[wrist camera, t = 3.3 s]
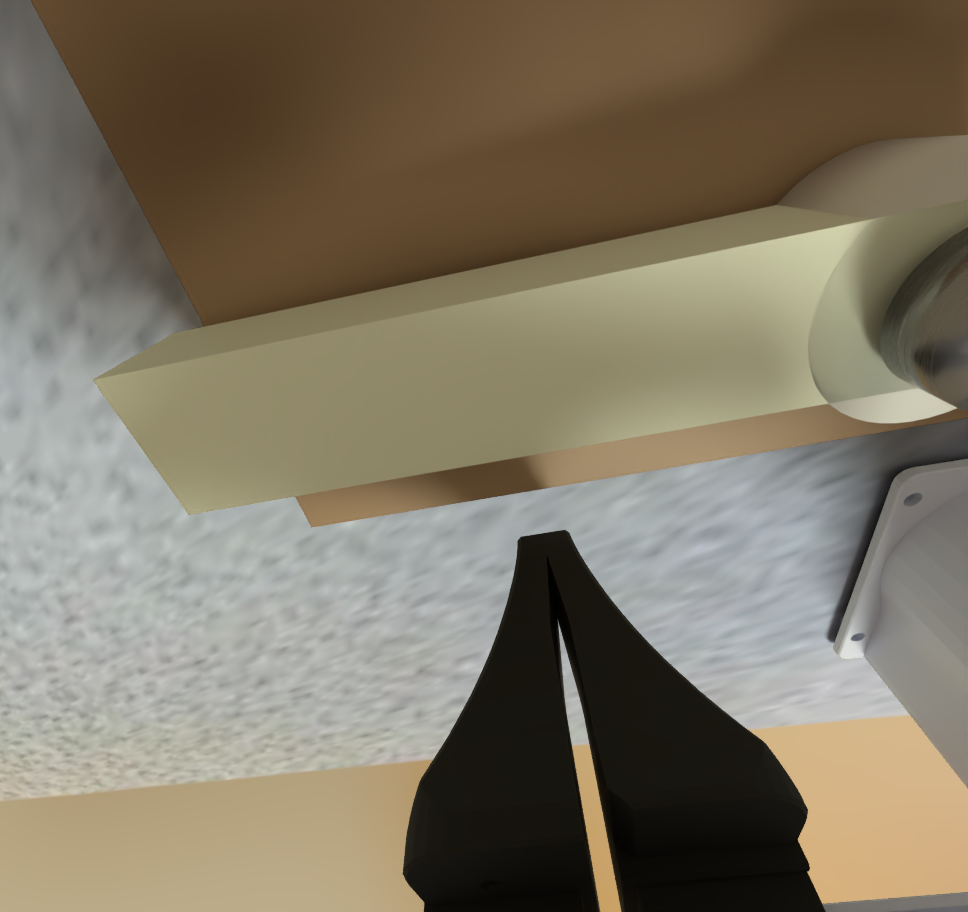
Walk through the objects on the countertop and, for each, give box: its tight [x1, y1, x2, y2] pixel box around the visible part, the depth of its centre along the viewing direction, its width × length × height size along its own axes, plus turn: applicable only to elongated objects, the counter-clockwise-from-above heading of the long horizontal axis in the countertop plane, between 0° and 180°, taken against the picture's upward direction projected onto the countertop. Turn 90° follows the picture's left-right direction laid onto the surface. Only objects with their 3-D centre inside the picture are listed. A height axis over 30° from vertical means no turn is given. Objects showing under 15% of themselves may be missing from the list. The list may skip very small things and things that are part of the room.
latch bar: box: [93, 135, 968, 515], centre depth 9 cm, size 16×4×2 cm, turn 101°
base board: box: [31, 0, 968, 527], centre depth 8 cm, size 19×19×2 cm
